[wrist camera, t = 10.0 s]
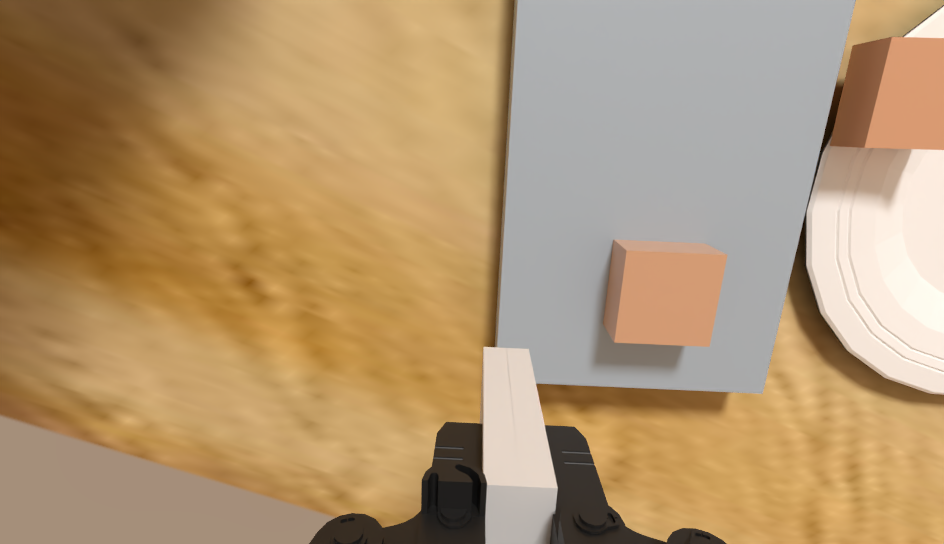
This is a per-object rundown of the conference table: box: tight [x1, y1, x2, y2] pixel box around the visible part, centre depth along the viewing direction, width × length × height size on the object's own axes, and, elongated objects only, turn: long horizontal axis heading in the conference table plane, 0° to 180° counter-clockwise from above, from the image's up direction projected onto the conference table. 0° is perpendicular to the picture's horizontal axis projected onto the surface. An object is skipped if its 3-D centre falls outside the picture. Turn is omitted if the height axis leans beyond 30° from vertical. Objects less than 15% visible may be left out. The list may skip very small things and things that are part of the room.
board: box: [495, 0, 856, 394], centre depth 27 cm, size 16×24×3 cm, turn 178°
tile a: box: [830, 37, 944, 150], centre depth 24 cm, size 5×5×2 cm
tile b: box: [603, 240, 727, 347], centre depth 26 cm, size 5×5×2 cm
